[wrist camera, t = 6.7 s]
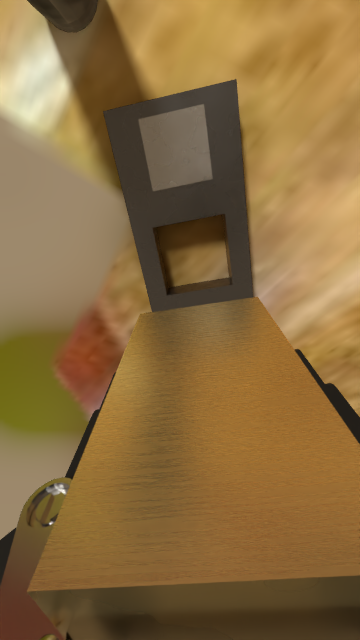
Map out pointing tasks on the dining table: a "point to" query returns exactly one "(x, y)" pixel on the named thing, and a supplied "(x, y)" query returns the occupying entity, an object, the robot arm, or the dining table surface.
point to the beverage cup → (67, 12)
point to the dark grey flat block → (184, 184)
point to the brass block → (209, 493)
